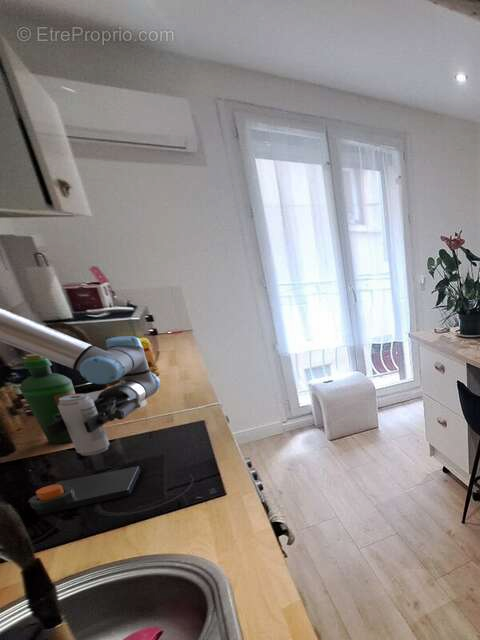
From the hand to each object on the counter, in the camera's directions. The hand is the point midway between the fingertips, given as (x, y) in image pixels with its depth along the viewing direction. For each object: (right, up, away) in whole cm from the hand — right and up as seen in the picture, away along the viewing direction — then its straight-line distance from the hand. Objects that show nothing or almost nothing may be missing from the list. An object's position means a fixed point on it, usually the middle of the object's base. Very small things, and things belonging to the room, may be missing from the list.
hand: (69, 429), depth 98 cm
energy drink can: (-2, -6, +8) cm, 10 cm away
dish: (-50, +3, +57) cm, 76 cm away
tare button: (-3, -16, -1) cm, 16 cm away
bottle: (-39, -6, +34) cm, 52 cm away
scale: (-1, -17, +7) cm, 18 cm away
